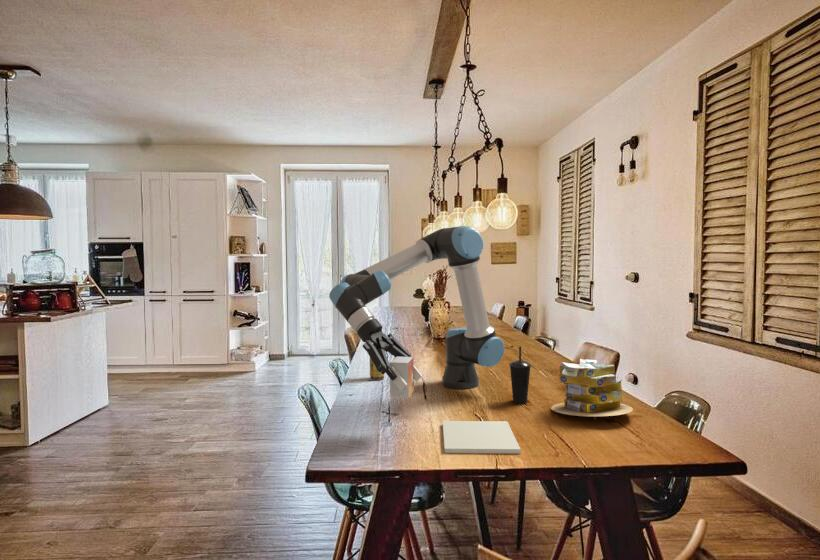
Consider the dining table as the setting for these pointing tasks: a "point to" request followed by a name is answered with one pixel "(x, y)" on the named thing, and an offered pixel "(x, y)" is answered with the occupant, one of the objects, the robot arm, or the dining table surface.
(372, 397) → the dining table surface
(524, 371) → the drinking cup
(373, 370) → the sauce bottle
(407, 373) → the small box
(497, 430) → the white square board
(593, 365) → the stacked boxes on plate
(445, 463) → the dining table surface
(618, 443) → the dining table surface
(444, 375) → the robot arm
